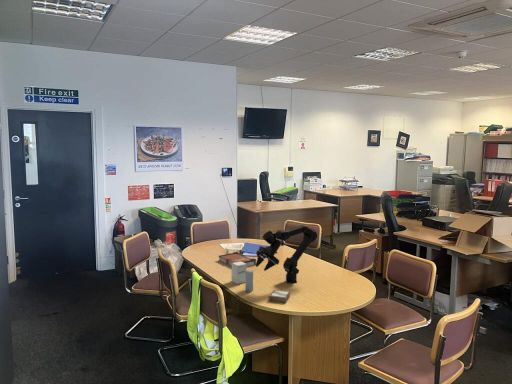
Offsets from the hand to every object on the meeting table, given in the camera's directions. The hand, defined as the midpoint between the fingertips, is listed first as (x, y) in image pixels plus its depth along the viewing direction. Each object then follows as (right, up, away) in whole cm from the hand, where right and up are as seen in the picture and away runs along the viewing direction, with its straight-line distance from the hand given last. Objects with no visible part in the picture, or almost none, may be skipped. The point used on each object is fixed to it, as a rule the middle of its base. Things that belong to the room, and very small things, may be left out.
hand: (260, 268), depth 249 cm
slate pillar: (-7, -13, -2) cm, 15 cm away
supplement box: (-14, -12, +14) cm, 23 cm away
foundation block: (+11, -15, -15) cm, 24 cm away
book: (-18, -7, +56) cm, 59 cm away
